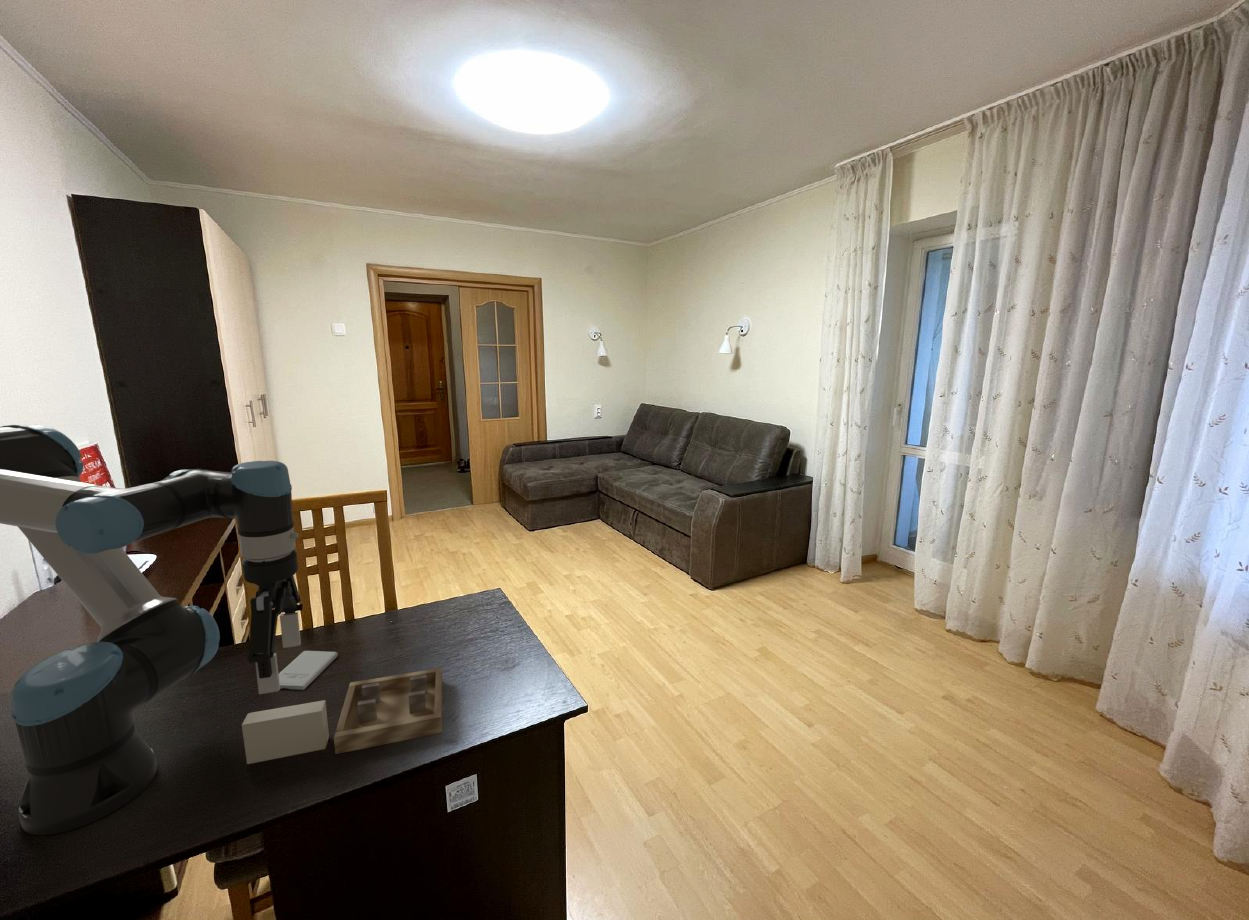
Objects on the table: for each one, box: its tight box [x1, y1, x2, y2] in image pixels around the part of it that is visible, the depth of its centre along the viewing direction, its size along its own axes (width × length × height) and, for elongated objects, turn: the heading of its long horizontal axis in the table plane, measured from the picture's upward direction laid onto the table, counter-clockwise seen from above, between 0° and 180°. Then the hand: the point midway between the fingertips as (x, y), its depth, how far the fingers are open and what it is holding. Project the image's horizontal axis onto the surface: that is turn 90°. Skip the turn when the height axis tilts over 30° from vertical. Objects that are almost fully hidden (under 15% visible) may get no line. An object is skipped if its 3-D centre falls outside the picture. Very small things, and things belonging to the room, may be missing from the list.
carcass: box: [333, 667, 443, 755], centre depth 99 cm, size 18×16×5 cm
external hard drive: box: [278, 650, 339, 691], centre depth 112 cm, size 2×8×12 cm
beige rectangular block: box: [241, 699, 330, 765], centre depth 89 cm, size 12×3×8 cm, turn 109°
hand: (281, 667), depth 87 cm, fingers open, 13 cm apart
